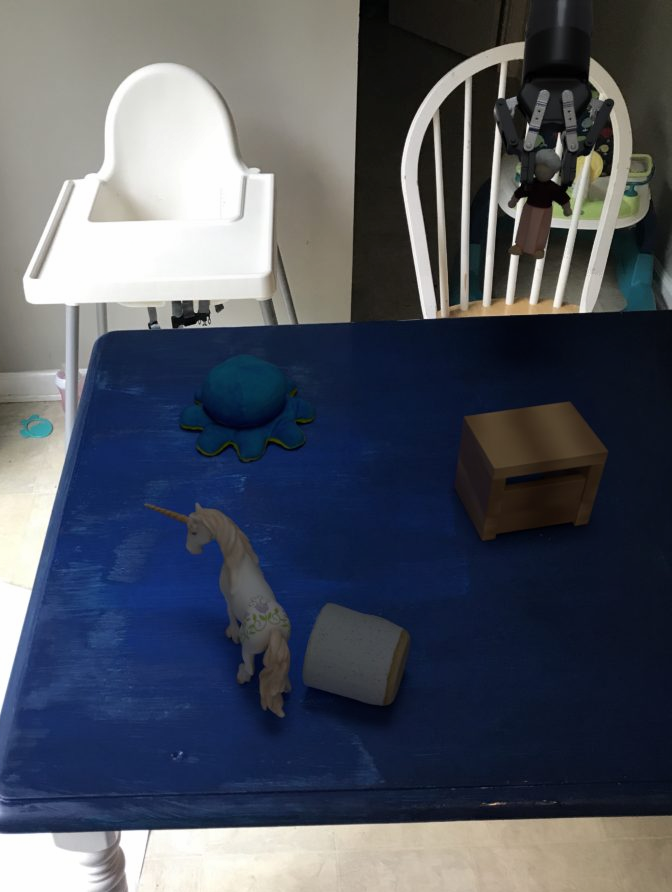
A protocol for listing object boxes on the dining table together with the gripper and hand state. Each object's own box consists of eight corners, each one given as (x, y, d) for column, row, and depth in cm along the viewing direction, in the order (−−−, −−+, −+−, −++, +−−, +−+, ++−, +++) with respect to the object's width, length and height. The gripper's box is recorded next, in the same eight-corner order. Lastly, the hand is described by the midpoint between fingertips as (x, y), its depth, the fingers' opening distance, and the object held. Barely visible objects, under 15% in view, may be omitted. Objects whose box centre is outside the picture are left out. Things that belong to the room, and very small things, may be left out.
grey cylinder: (390, 727, 72) (395, 671, 67) (300, 702, 74) (299, 646, 69) (418, 637, 79) (424, 581, 74) (336, 616, 81) (337, 561, 76)
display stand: (553, 472, 96) (570, 401, 90) (588, 524, 90) (608, 451, 83) (454, 487, 95) (463, 416, 88) (482, 541, 88) (494, 468, 82)
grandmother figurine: (498, 257, 103) (513, 152, 95) (502, 243, 106) (517, 141, 97) (561, 264, 101) (583, 158, 93) (564, 250, 104) (585, 146, 95)
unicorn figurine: (223, 570, 87) (210, 471, 78) (340, 694, 75) (341, 594, 66) (163, 602, 84) (143, 503, 75) (275, 736, 72) (267, 638, 63)
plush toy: (162, 452, 102) (153, 395, 96) (206, 376, 114) (199, 322, 108) (295, 469, 98) (293, 411, 93) (325, 390, 110) (324, 334, 105)
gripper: (613, 62, 99) (602, 203, 99) (492, 62, 102) (481, 200, 101) (629, 23, 92) (618, 175, 91) (499, 23, 94) (487, 172, 93)
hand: (546, 187), depth 96 cm, fingers closed on grandmother figurine, 3 cm apart
